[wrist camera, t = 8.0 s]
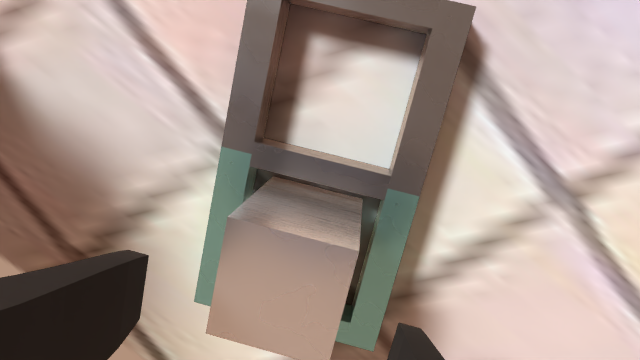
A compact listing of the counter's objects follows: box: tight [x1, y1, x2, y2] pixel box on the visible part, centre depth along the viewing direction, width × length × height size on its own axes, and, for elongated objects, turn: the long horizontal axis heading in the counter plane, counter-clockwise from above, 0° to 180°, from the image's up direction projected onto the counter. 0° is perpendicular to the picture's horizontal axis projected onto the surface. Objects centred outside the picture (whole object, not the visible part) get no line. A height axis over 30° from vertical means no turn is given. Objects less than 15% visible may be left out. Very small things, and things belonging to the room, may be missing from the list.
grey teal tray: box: [194, 0, 476, 351], centre depth 17 cm, size 8×14×2 cm, turn 167°
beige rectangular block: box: [206, 176, 363, 360], centre depth 15 cm, size 4×4×6 cm
